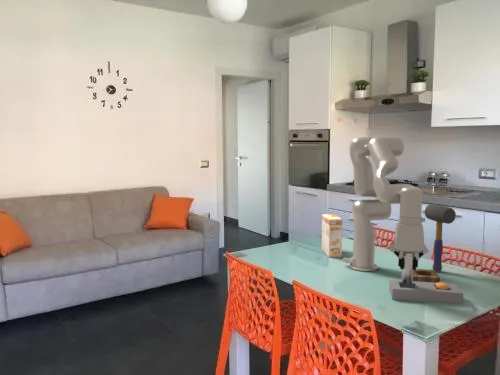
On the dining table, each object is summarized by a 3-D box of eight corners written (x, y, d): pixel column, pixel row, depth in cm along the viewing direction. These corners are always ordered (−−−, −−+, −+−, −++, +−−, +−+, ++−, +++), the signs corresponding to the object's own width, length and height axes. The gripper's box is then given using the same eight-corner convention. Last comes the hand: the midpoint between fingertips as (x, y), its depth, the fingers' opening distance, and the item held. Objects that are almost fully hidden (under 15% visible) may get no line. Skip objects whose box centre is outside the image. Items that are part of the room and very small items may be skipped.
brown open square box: (412, 291, 169) (412, 276, 168) (408, 282, 179) (408, 268, 178) (439, 292, 167) (440, 277, 166) (433, 284, 177) (434, 270, 176)
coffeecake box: (342, 257, 217) (343, 219, 215) (328, 257, 217) (328, 219, 214) (334, 249, 232) (334, 213, 230) (321, 249, 231) (321, 214, 229)
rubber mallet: (454, 274, 189) (457, 206, 185) (440, 276, 186) (443, 208, 183) (433, 266, 200) (436, 202, 197) (420, 268, 198) (423, 203, 194)
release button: (436, 298, 158) (437, 285, 157) (434, 294, 162) (434, 281, 161) (449, 299, 157) (449, 286, 156) (446, 295, 161) (446, 282, 160)
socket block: (392, 302, 158) (392, 288, 158) (389, 292, 168) (389, 279, 167) (462, 306, 154) (463, 293, 153) (455, 296, 163) (455, 283, 163)
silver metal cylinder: (402, 284, 160) (403, 253, 159) (400, 281, 164) (402, 250, 163) (413, 285, 159) (415, 253, 158) (411, 281, 163) (413, 250, 162)
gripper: (432, 219, 161) (429, 266, 163) (385, 217, 164) (383, 264, 166) (436, 223, 153) (433, 273, 156) (387, 221, 157) (385, 270, 159)
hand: (407, 268), depth 161 cm, fingers closed on silver metal cylinder, 4 cm apart
